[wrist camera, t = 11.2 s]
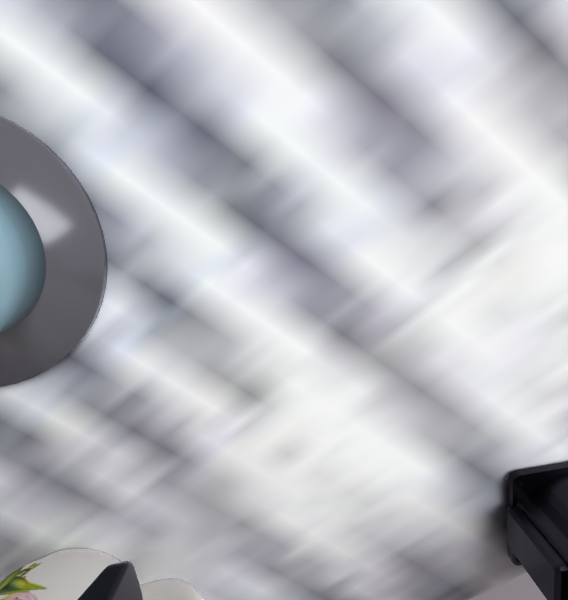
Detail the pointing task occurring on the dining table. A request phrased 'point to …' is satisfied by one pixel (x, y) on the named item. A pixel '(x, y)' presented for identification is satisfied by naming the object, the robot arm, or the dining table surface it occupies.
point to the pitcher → (79, 579)
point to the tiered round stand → (44, 257)
